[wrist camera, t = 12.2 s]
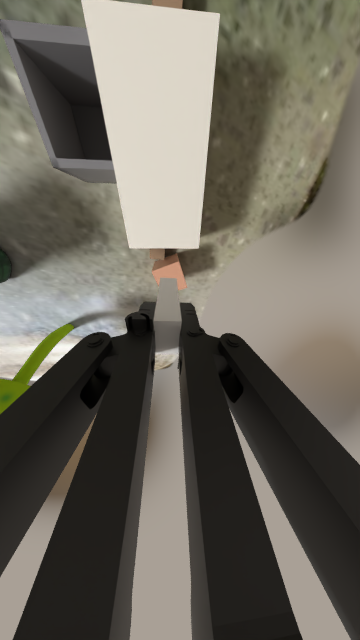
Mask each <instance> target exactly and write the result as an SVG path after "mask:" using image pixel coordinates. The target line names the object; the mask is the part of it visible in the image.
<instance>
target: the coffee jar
mask: <svg viewBox="0 0 360 640" xmlns="http://www.w3.org/2000/svg"><path fill="white" fill-rule="evenodd" d="M10 274H11V263H10V260H9V259H8V257H7V256H6V254H5V253H4V252H3V251H2V250H1V249H0V283H2V282H5V281H7V280H8V279H9V277H10Z"/></svg>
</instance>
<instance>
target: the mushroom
mask: <svg viewBox="0 0 360 640" xmlns="http://www.w3.org/2000/svg"><path fill="white" fill-rule="evenodd" d="M73 329H74V326H73V325H71V324H66V325H64V326H62V327H60V328H58V329H57V330H55V331H54V332H52V333H51V334H49V335H48V336H47V337H46V338H45V339H44V340H43V341H42V342H41V343H40V344H39V345H38V346H37V348H36V349H35V350H34V351H33V353H32V354H31V355H30V357H29V358H28V359H27V361H26V362H25V364H24V365H23V366H22V368H21V369H20V370H19V372H18V373H17V375H16V376H15V377H14V379H13V380H12V381H11V380H5V379H0V414H1V413H2V412H3V411H4V410H5V409H7V408H8V407H9V406H10V405H11V404H12V403H13V402H14V401H15V400H16V399H17V398H19V397H20V396H21V395H22V394H23V393H24V392H25V391H26V390H27V389H28V388H30V387H31V386H29V385H27V384H28V382H29V381H30V379H31V377H32V376H33V374H34V373H35V371H36V370H37V368H38V367H39V366H40V364H41V363H42V361H43V360H44V359H45V357H46V356H47V355H48V354H49V352H50V351H51V350H52V349H53V348H54V347H55V345H56V344H57V343H58V342H59V341H60V340H61V339H62V338H63V337H65V336H66V335H67V334H68V333H69V332H70V331H72V330H73Z"/></svg>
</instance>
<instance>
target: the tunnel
mask: <svg viewBox="0 0 360 640" xmlns="http://www.w3.org/2000/svg"><path fill="white" fill-rule="evenodd" d="M81 1H82V6H83V11H84V17H85V22H86V27H87V28H79V27H70V26H60V25H51V24H41V23H32V22H22V21H13V20H3V19H0V29H1V32H2V34H3V37H4V40H5V42H6V45H7V48H8V50H9V53H10V55H11V58H12V61H13V63H14V66H15V69H16V71H17V74H18V77H19V79H20V82H21V84H22V87H23V90H24V92H25V95H26V98H27V100H28V103H29V105H30V108H31V111H32V113H33V116H34V119H35V121H36V124H37V126H38V129H39V132H40V134H41V137H42V140H43V142H44V145H45V147H46V150H47V153H48V155H49V158H50V161H51V163H52V166H53V167H54V168H56V169H58V170H60V171H63V172H65V173H67V174H69V175H72V176H74V177H76V178H79V179H81V180H83V181H85V182H91V183H117V187H118V192H119V197H120V202H121V207H122V213H123V218H124V223H125V228H126V233H127V238H128V243H129V248H194V249H199V240H200V229H201V218H202V207H203V196H204V185H205V174H206V162H207V151H208V140H209V129H210V118H211V107H212V96H213V85H214V73H215V62H216V51H217V40H218V29H219V18H220V14H219V13H211V12H202V11H194V10H185V9H177V8H169V7H160V6H152V5H144V4H135V3H127V2H118V1H110V0H81Z"/></svg>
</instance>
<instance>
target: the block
mask: <svg viewBox="0 0 360 640" xmlns="http://www.w3.org/2000/svg"><path fill="white" fill-rule="evenodd" d="M152 273H153V275H154V277H155V280H156V282H157V284H158V286H159V283H160V278H177V286H178V290H181V289H184V288H187V285H186V281H185V277H184V274H183V271H182V268H181V264H180V261H179V258H178V255H177V253H176V254H173V255H170V256H168V257H165V258H164V260H158V261H155V263H154V266H153V269H152Z"/></svg>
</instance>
